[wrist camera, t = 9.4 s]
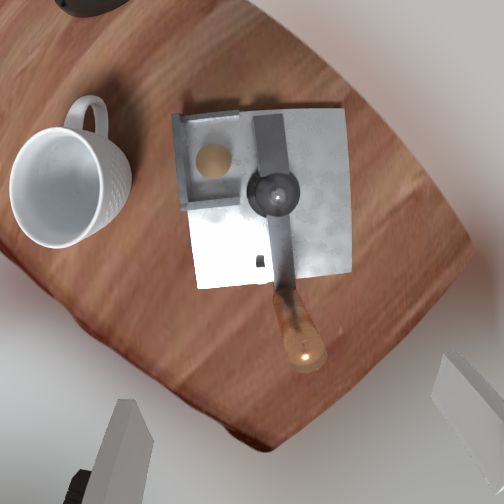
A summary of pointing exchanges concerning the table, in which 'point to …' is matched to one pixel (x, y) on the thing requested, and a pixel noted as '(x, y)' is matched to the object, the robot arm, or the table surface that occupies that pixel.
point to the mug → (69, 179)
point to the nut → (213, 161)
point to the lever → (284, 243)
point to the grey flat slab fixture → (245, 206)
